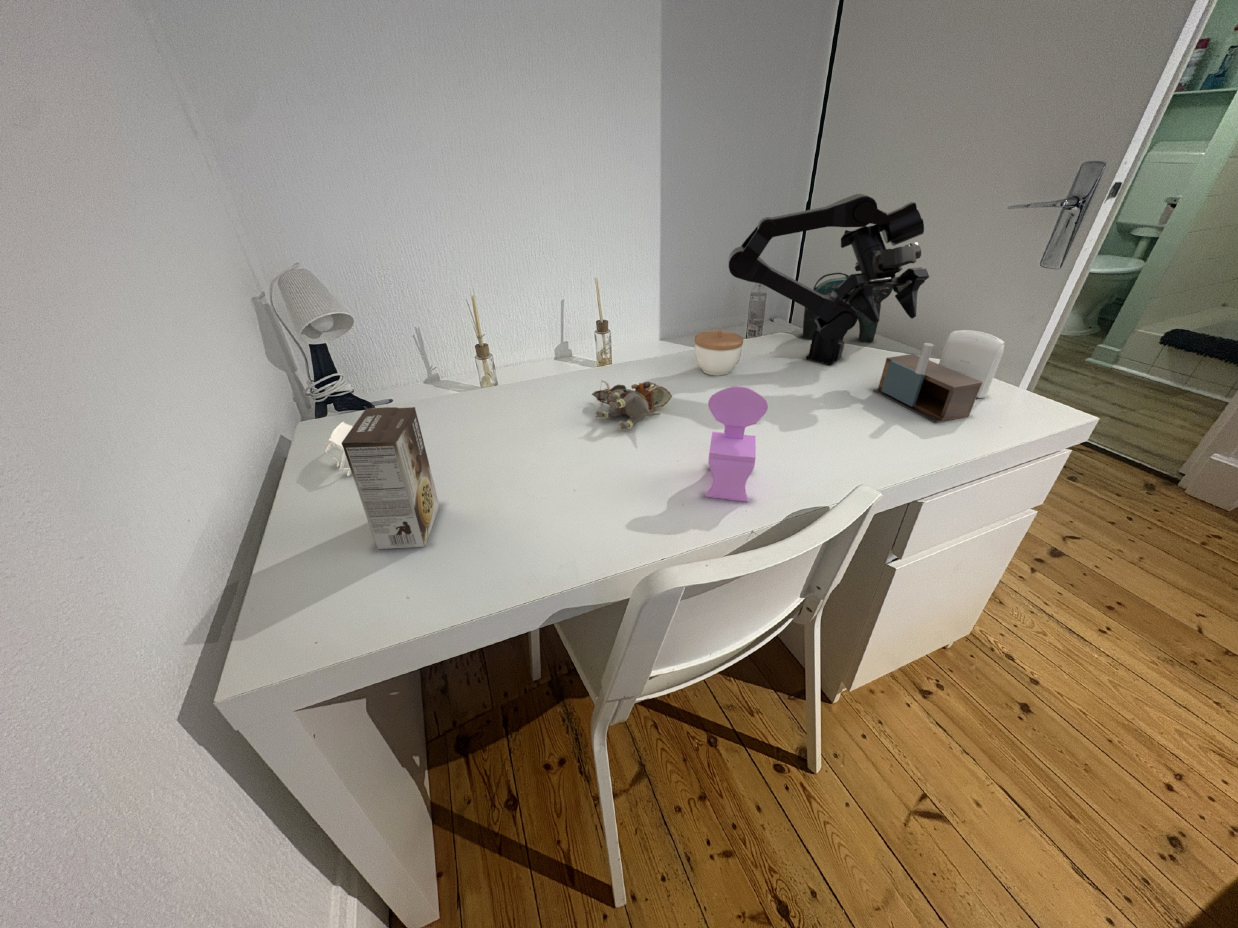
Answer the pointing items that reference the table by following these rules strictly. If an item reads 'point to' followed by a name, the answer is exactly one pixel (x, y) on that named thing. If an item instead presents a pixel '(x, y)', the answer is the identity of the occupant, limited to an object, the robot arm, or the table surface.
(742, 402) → the toy chair
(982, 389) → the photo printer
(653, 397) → the figurine
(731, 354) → the trinket box
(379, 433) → the brown food box
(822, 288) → the dark green sculpted piece
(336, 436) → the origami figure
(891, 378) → the sliding door
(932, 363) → the cabinet
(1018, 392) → the table surface
